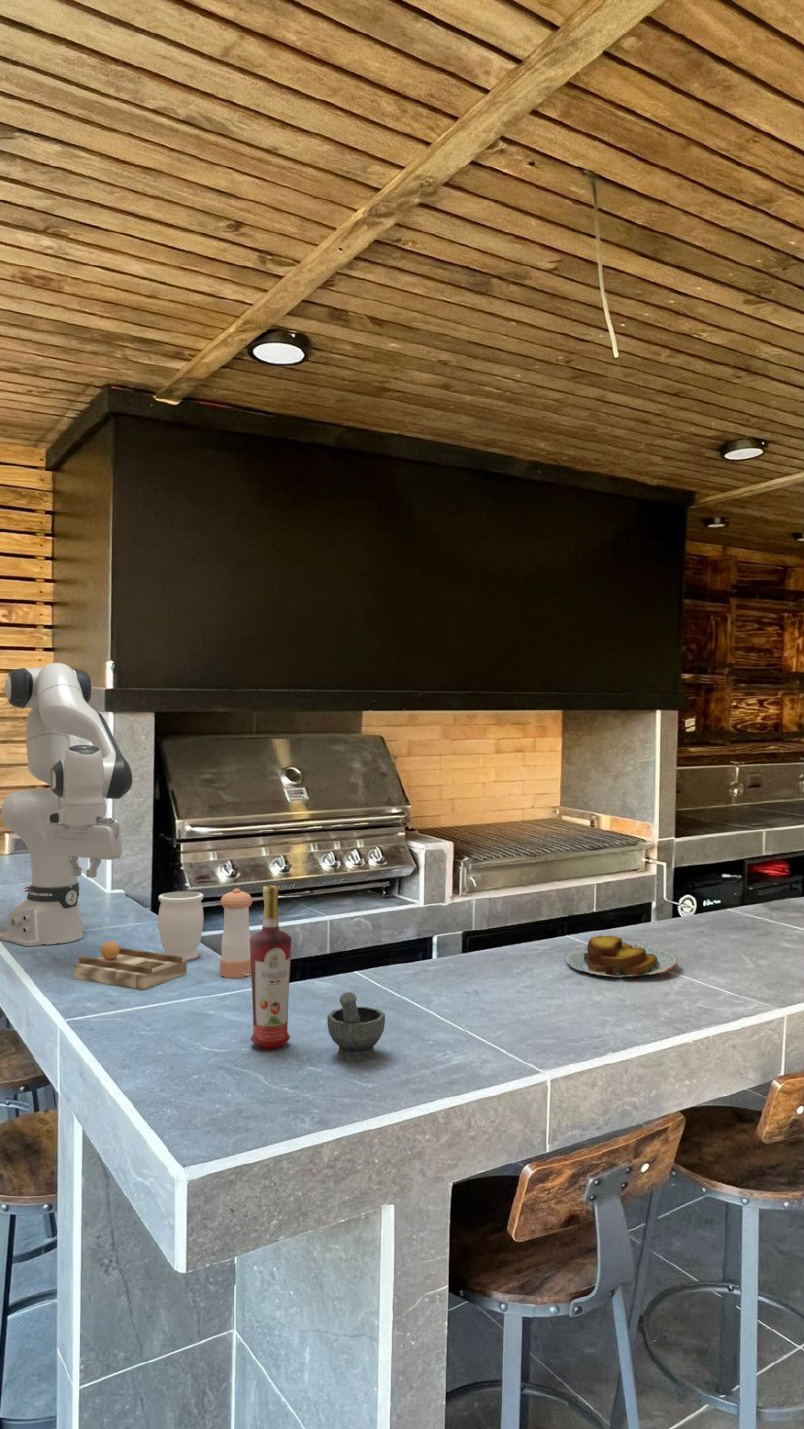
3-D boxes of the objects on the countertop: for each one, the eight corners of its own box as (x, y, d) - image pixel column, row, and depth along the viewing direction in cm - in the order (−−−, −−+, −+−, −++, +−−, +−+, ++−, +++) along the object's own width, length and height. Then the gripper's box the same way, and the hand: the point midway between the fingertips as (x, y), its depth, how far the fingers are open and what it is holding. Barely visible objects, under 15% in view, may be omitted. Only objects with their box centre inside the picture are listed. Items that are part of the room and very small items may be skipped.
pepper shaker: (245, 979, 209) (246, 892, 209) (214, 977, 210) (214, 891, 210) (257, 970, 216) (257, 886, 216) (227, 968, 218) (227, 885, 218)
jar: (208, 952, 232) (209, 891, 232) (195, 963, 222) (195, 899, 222) (166, 951, 233) (167, 890, 233) (151, 962, 223) (151, 898, 223)
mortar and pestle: (338, 1043, 168) (338, 975, 168) (389, 1047, 166) (389, 979, 166) (318, 1066, 158) (318, 994, 158) (373, 1070, 155) (373, 997, 155)
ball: (97, 960, 213) (97, 942, 213) (109, 956, 217) (109, 938, 217) (110, 962, 211) (110, 944, 211) (123, 958, 215) (123, 940, 215)
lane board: (73, 978, 210) (73, 959, 210) (118, 963, 222) (118, 945, 222) (143, 989, 201) (143, 970, 201) (186, 973, 213) (186, 955, 213)
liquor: (255, 1055, 162) (255, 891, 162) (244, 1041, 169) (245, 884, 169) (296, 1049, 165) (296, 888, 165) (284, 1036, 172) (284, 882, 172)
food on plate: (697, 980, 210) (697, 950, 210) (591, 987, 205) (591, 956, 205) (645, 951, 235) (645, 925, 235) (550, 957, 230) (550, 930, 230)
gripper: (128, 817, 216) (128, 877, 216) (62, 812, 225) (62, 871, 225) (108, 819, 210) (108, 882, 210) (41, 815, 219) (41, 875, 219)
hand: (83, 876), depth 218 cm, fingers open, 3 cm apart
